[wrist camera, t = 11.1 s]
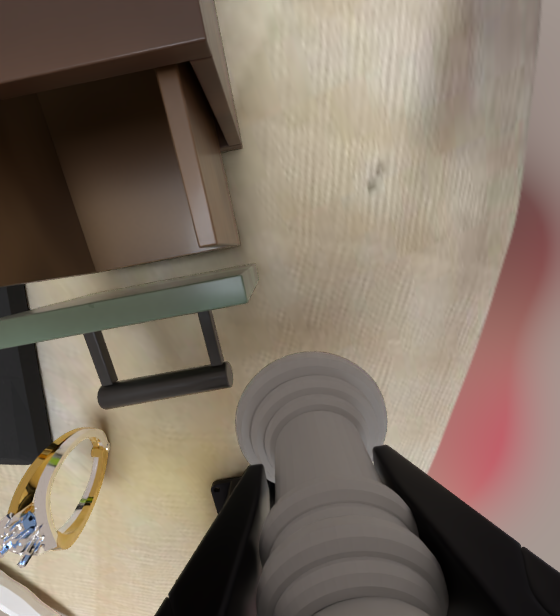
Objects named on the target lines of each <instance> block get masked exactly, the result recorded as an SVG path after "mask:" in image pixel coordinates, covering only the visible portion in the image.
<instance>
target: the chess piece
mask: <svg viewBox="0 0 560 616" xmlns="http://www.w3.org/2000/svg"><path fill="white" fill-rule="evenodd" d="M235 424H236V433H237V438H238V443H239V445H240V448H241V451H242V453H243V455H244V456H245V458H246V460H247V461H248V462H249V464H250V465H255V464H263V465H264V468H265V473H266V478H267V479H268V480H269V481H271V482H273V483H275V505H274V506H273V507H272V509H271V510H270V512H269V513H268V515H267V517H266V519H265V522H264V525H263V528H262V531H261V535H260V539H259V556H260V561H261V566H262V573H261V576H260V580H259V583H258V587H257V592H256V609H257V616H447V612H448V606H449V595H448V590H447V585H446V582H445V578H444V574H443V571H442V569H441V566H440V564H439V563H438V561H437V559H436V558H435V556H434V555H433V554H432V553H431V551H430V550H429V549H428V548H427V546H426V545H425V544H424V543H423V542H422V541H421V540H420V539H419V533H418V528H417V524H416V521H415V519H414V516H413V514H412V511H411V509H410V508H409V507H408V506H407V504H406V503H405V502H404V501H403V500H402V499H401V498H400V496H399V495H397V494H396V493H395V492H394V491H393V490H392V489H390V488H389V487H387V486H385V485H384V484H382V483H381V481H380V478H379V476H378V474H377V472H376V469H375V467H374V465H373V463H372V462H373V452H372V449H373V447H375V446H381V445H383V443H384V440H385V436H386V432H387V412H386V407H385V403H384V399H383V396H382V394H381V391H380V389H379V388H378V386H377V384H376V383H375V381H374V380H373V379H372V378H371V376H370V375H369V374H368V373H366V372H365V371H364V370H363V369H362V368H360V367H359V366H358V365H356V364H355V363H353V362H351V361H349V360H347V359H345V358H343V357H340V356H337V355H334V354H330V353H326V352H316V351H314V352H300V353H294V354H291V355H287V356H284V357H282V358H280V359H277V360H275V361H274V362H272V363H270V364H269V365H267V366H266V367H264V368H263V369H262V370H261V371H260V372H259V373H258V374H257V375H256V376H255V377H254V378H253V379H252V380H251V381H250V382H249V384H248V385H247V386H246V388H245V390H244V391H243V393H242V395H241V398H240V400H239V403H238V406H237V410H236V419H235Z"/></svg>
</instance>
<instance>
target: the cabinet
mask: <svg viewBox="0 0 560 616" xmlns="http://www.w3.org/2000/svg"><path fill="white" fill-rule="evenodd" d="M185 61H190V63H191V65H192V67H193V70H194V72H195V74H196V76H197V78H198V80H199V83H200V85H201V87H202V89H203V91H204V93H205V95H206V98H207V100H208V102H209V104H210V106H211V108H212V113H213V117H214V122H215V127H216V131H217V136H218V141H219V146H220V150H221V152H226V151H231V150H236V149H241V148H242V147H243V146H242V141H241V136H240V131H239V126H238V121H237V116H236V110H235V105H234V100H233V95H232V90H231V85H230V80H229V75H228V70H227V65H226V59H225V54H224V49H223V44H222V39H221V34H220V29H219V24H218V19H217V14H216V8H215V3H214V0H0V100H4V99H9V98H13V97H18V96H23V95H28V94H33V93H37V92H42V91H47V90H52V89H56V88H61V87H66V86H71V85H76V84H80V83H85V82H90V81H95V80H99V79H104V78H109V77H114V76H119V75H123V74H128V73H133V72H138V71H142V70H147V69H152V68H157V67H162V66H166V65H171V64H176V63H181V62H185Z"/></svg>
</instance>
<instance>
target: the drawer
mask: <svg viewBox="0 0 560 616" xmlns="http://www.w3.org/2000/svg"><path fill="white" fill-rule="evenodd" d="M239 245H240V240H239V235H238V230H237V226H236V221H235V216H234V211H233V207H232V202H231V197H230V193H229V188H228V183H227V179H226V174H225V169H224V164H223V160H222V155H221V150H220V146H219V141H218V136H217V131H216V127H215V122H214V117H213V113H212V108H211V106H210V104H209V102H208V100H207V98H206V95H205V93H204V91H203V89H202V87H201V85H200V83H199V80H198V78H197V76H196V74H195V72H194V70H193V67H192V65H191V63H190V61H185V62H181V63H176V64H171V65H166V66H162V67H157V68H152V69H147V70H142V71H138V72H133V73H128V74H123V75H119V76H114V77H109V78H104V79H99V80H95V81H90V82H85V83H80V84H76V85H71V86H66V87H61V88H56V89H52V90H47V91H42V92H37V93H33V94H28V95H23V96H18V97H13V98H9V99H4V100H0V287H7V286H13V285H20V284H27V283H33V282H40V281H47V280H54V279H60V278H67V277H74V276H80V275H87V274H93V273H99V272H104V271H109V270H114V269H120V268H125V267H130V266H135V265H140V264H146V263H151V262H156V261H161V260H166V259H172V258H177V257H182V256H187V255H193V254H198V253H203V252H208V251H213V250H219V249H224V248H229V247H234V246H239ZM258 281H259V277H258V272H257V267H256V264H255V263H252V264H247V265H242V266H237V267H231V268H226V269H221V270H216V271H210V272H205V273H200V274H194V275H189V276H184V277H179V278H173V279H168V280H163V281H158V282H152V283H147V284H142V285H137V286H131V287H126V288H121V289H116V290H110V291H105V292H100V293H94V294H90V295H86V296H82V297H79V298H75V299H71V300H67V301H63V302H59V303H55V304H52V305H48V306H44V307H40V308H36V309H32V310H28V311H25V312H21V313H17V314H13V315H9V316H5V317H1V318H0V349H5V348H10V347H16V346H21V345H26V344H32V343H37V342H42V341H48V340H53V339H59V338H64V337H69V336H75V335H80V334H83V335H84V337H85V340H86V343H87V346H88V349H89V351H90V354H91V357H92V360H93V362H94V365H95V368H96V371H97V373H98V376H99V379H100V382H101V384H102V386H101V387H100V389H99V391H98V396H97V398H98V403H99V405H100V407H101V408H103V409H106V410H107V409H113V408H118V407H124V406H129V405H135V404H141V403H146V402H152V401H157V400H163V399H169V398H174V397H180V396H185V395H191V394H196V393H202V392H208V391H213V390H219V389H224V388H230V387H232V384H233V373H232V368H231V365H230V363H229V362H227V361H226V362H223V361H224V358H223V354H222V350H221V346H220V342H219V338H218V334H217V330H216V326H215V322H214V318H213V314H212V310H214V309H219V308H225V307H230V306H235V305H241V304H246V303H248V301H249V299H250V297H251V295H252V293H253V291H254V289H255V287H256V285H257V283H258ZM193 313H198V316H199V320H200V324H201V328H202V332H203V335H204V339H205V343H206V347H207V351H208V355H209V358H210V362H211V364H210V365H204V366H199V367H193V368H188V369H182V370H177V371H171V372H166V373H160V374H155V375H149V376H144V377H138V378H133V379H127V380H122V381H117V380H118V378H117V375H116V372H115V369H114V366H113V364H112V361H111V358H110V355H109V352H108V349H107V346H106V343H105V340H104V338H103V335H102V332H101V330H107V329H112V328H117V327H123V326H128V325H134V324H139V323H144V322H150V321H155V320H160V319H166V318H171V317H176V316H182V315H187V314H193Z"/></svg>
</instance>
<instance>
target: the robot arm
mask: <svg viewBox="0 0 560 616" xmlns="http://www.w3.org/2000/svg"><path fill="white" fill-rule="evenodd" d="M372 452H373V462H374V467H375V469H376V472H377V474H378V476H379V478H380V481H381V483H382V484H384V485H385V486H387V487H389V488H390V489H392V490H393V491H394V492H395V493H396V494H397V495H399V496H400V498H401V499H402V500H403V501H404V502H405V503H406V504H407V506H408V507H409V508H410V509H411V511H412V514H413V516H414V519H415V521H416V524H417V528H418V533H419V539H420V540H421V541H422V542H423V543H424V544H425V545H426V546H427V548H428V549H429V550H430V551H431V553H432V554H433V555H434V556H435V558H436V559H437V561H438V563H439V564H440V566H441V569H442V571H443V574H444V578H445V582H446V585H447V590H448V595H449V606H448V612H447V616H560V573H559V572H558V571H557V570H555V569H554V568H552V567H551V566H550V565H548V564H547V563H546V562H544V561H543V560H542V559H540V558H539V557H538V556H536V555H535V554H533V553H532V552H531V551H529V550H528V549H527V548H525V547H522V548H521V545H520V544H519V543H518V542H517V541H516V540H514V539H513V538H512V537H510V536H509V535H508V534H506V533H505V532H504V531H502V530H501V529H500V528H498V527H497V526H495V525H494V524H493V523H492V522H490V521H489V520H488V519H486V518H485V517H484V516H482V515H481V514H479V513H478V512H477V511H475V510H474V509H473V508H471V507H470V506H469V505H467V504H466V503H465V502H463V501H462V500H460V499H459V498H458V497H457V496H455V495H454V494H453V493H451V492H450V491H449V490H447V489H446V488H444V487H443V486H442V485H441V484H439V483H438V482H436V481H435V480H434V479H432V478H431V477H430V476H428V475H427V474H426V473H424V472H423V471H422V470H420V469H419V468H418V467H416V466H415V465H414V464H412V463H411V462H410V461H408V460H407V459H406V458H404V457H403V456H402V455H400V454H399V453H398V452H396V451H395V450H393V449H392V448H391V447H389V446H388V445H381V446H375V447H373V449H372ZM211 492H212V496H213V499H214V503H215V506H216V509H217V513H218V516H217V517H216V519H215V520H214V522H213V523H212V525H211V527H210V528H209V530H208V531H207V533H206V535H205V536H204V538H203V539H202V541H201V543H200V544H199V546H198V547H197V549H196V551H195V552H194V554H193V555H192V557H191V558H190V560H189V562H188V563H187V565H186V566H185V568H184V570H183V571H182V573H181V574H180V576H179V578H178V579H177V580H176V582H175V584H174V586H173V587H172V589H171V590H170V592H169V594H168V596H169V598H168V597H166V598H165V600H164V601H163V603H162V604H161V606H160V608H159V609H158V611H157V612H156V614H155V615H154V616H257V609H256V592H257V587H258V583H259V580H260V576H261V573H262V566H261V561H260V556H259V539H260V535H261V531H262V528H263V525H264V522H265V519H266V517H267V515H268V513H269V512H270V510H271V509H272V507H273V506H274V505H275V483H273V482H271V481H269V480H268V479H267V478H266V473H265V468H264V465H263V464H255V465H250V466H249V467H248V468H247V469H246V471H245V473H244V474H243V476H242V477H238V478H232V479H226V480H220V481H215V482H214V483H213V484H212V487H211Z"/></svg>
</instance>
